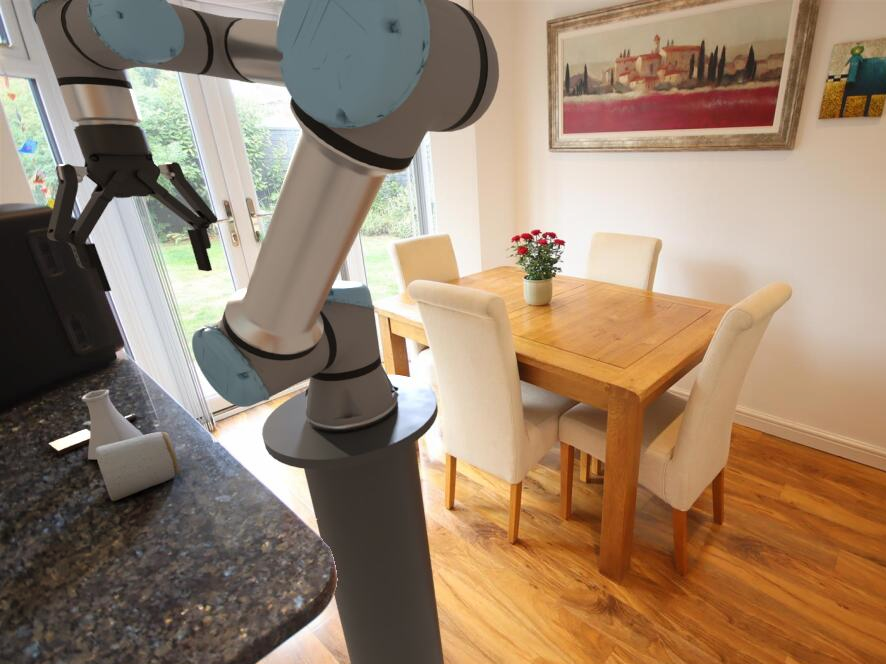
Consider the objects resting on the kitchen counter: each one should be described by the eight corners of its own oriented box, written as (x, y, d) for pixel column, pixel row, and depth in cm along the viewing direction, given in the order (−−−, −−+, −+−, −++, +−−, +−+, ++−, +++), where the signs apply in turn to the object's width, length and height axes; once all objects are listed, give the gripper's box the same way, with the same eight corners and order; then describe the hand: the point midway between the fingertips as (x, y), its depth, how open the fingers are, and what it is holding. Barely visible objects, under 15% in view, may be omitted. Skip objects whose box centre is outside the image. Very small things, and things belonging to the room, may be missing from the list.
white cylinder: (187, 482, 66) (171, 436, 64) (115, 511, 61) (94, 462, 58) (172, 453, 73) (157, 411, 71) (106, 478, 68) (87, 433, 65)
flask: (131, 457, 73) (109, 401, 69) (78, 465, 71) (52, 408, 68) (152, 432, 79) (133, 380, 76) (104, 439, 78) (82, 387, 74)
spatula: (131, 415, 85) (129, 409, 85) (142, 421, 83) (140, 415, 83) (50, 447, 76) (47, 441, 76) (60, 455, 74) (57, 448, 74)
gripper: (193, 130, 74) (227, 261, 81) (-34, 122, 54) (40, 297, 61) (218, 126, 70) (252, 265, 78) (-15, 117, 50) (61, 304, 58)
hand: (158, 279), depth 70 cm, fingers open, 13 cm apart
